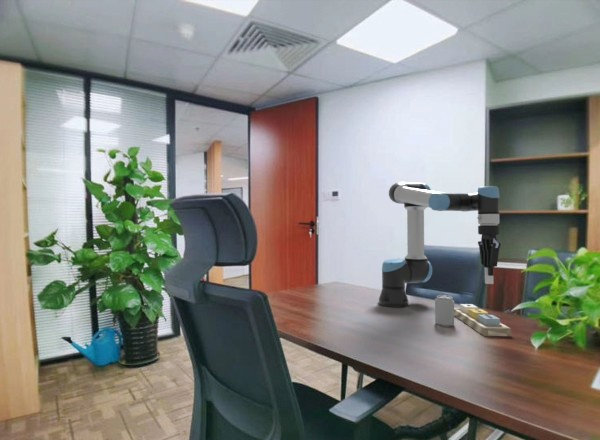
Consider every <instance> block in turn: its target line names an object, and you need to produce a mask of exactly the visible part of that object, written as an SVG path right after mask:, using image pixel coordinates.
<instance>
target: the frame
mask: <svg viewBox="0 0 600 440" xmlns="http://www.w3.org/2000/svg"><path fill="white" fill-rule="evenodd" d="M454 317H455V318H457V319H459V320H460V321H462V322H463V323H464V324H466V325H467V326H469V327H471V328H472V329H474V330H475V331H476V332H477V333H479V334H480V335H483V336H484V337H512V329H511V327H509V326H507V325H506V324H503V323H502V322H500V326H484V325H482V324H481V323H479V322H478V319H473V318H471V317H469V316H468V314H465V313H463V312H461V311H460V307H454Z"/></svg>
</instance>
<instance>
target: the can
mask: <svg viewBox="0 0 600 440" xmlns="http://www.w3.org/2000/svg"><path fill="white" fill-rule="evenodd" d="M454 308H455V300H454V299H453V296H451V295H445V294H439V295H436V298H434V322H435V323H436V324H437V325H438V326H439V327H445V328H448V327H452V326H454V325H455V316H454Z"/></svg>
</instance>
